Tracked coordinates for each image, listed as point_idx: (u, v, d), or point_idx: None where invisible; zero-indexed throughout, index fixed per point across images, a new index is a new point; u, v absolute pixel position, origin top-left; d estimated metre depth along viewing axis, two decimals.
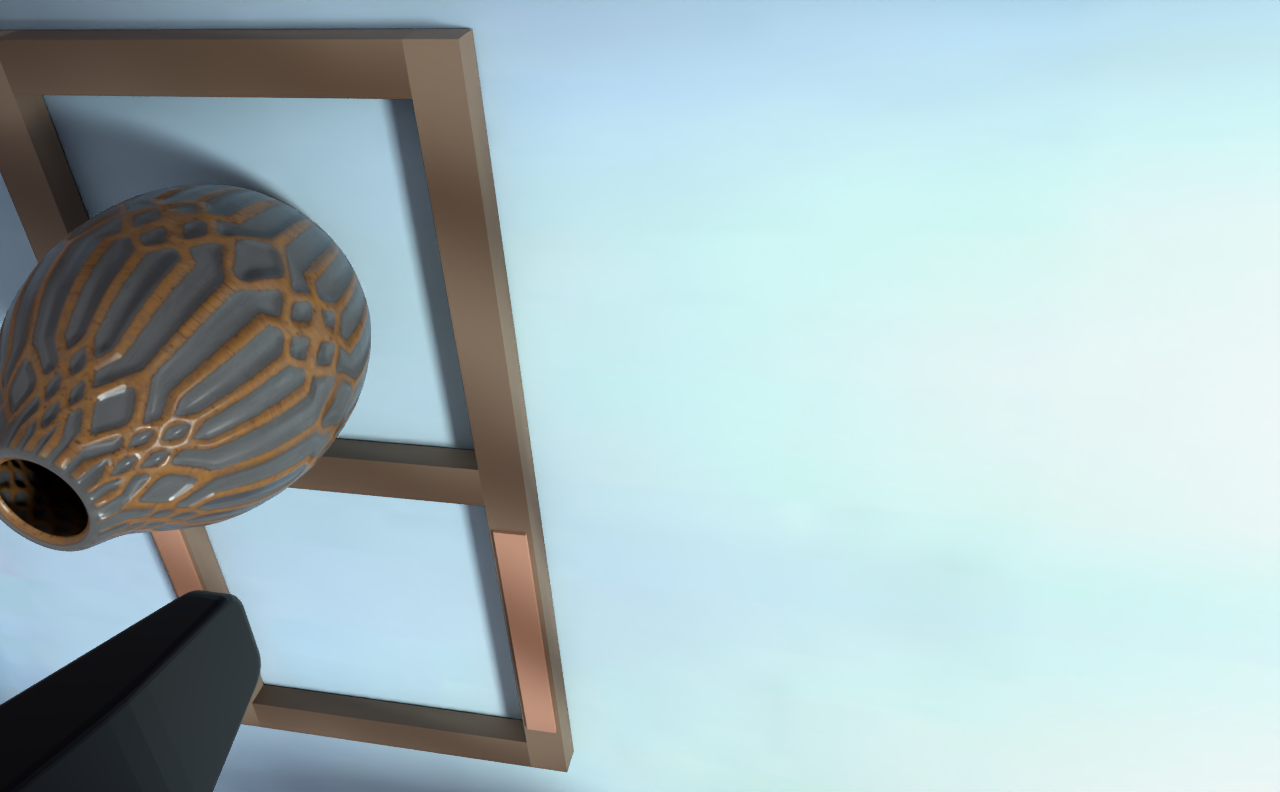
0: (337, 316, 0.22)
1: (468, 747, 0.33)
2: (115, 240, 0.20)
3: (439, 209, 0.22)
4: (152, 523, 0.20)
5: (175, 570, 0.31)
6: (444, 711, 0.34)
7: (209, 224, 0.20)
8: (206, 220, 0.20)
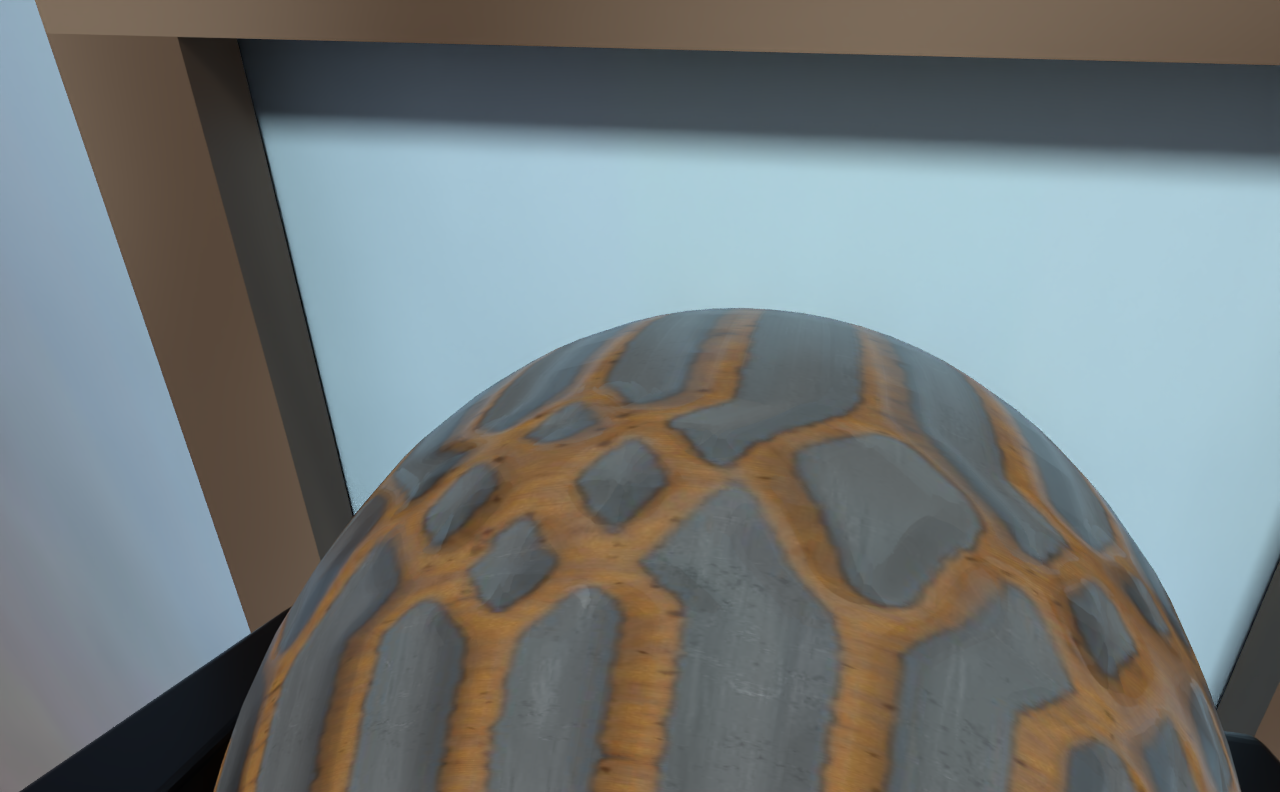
0: (589, 397, 0.06)
1: None
2: None
3: (460, 19, 0.08)
4: None
5: None
6: None
7: None
8: None
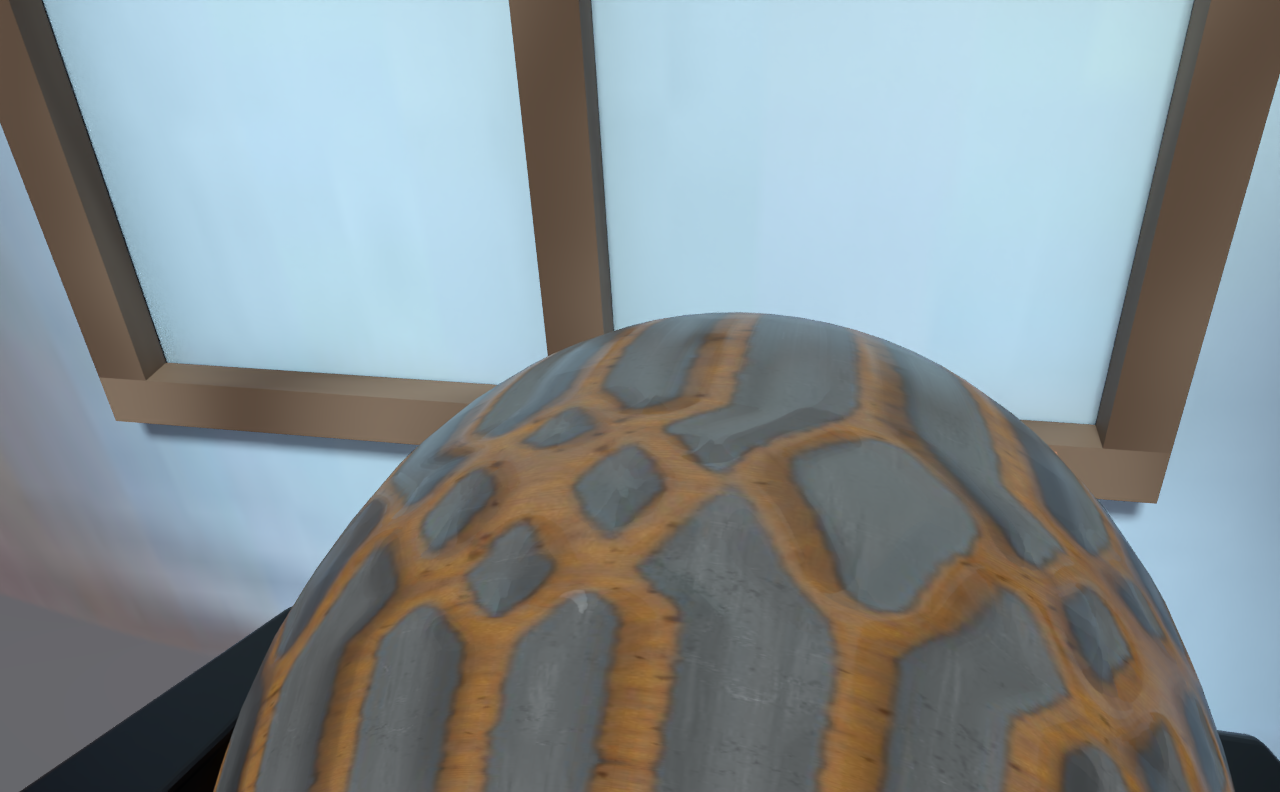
0: (588, 402, 0.06)
1: (1250, 39, 0.15)
2: None
3: None
4: None
5: None
6: (1174, 90, 0.17)
7: None
8: None
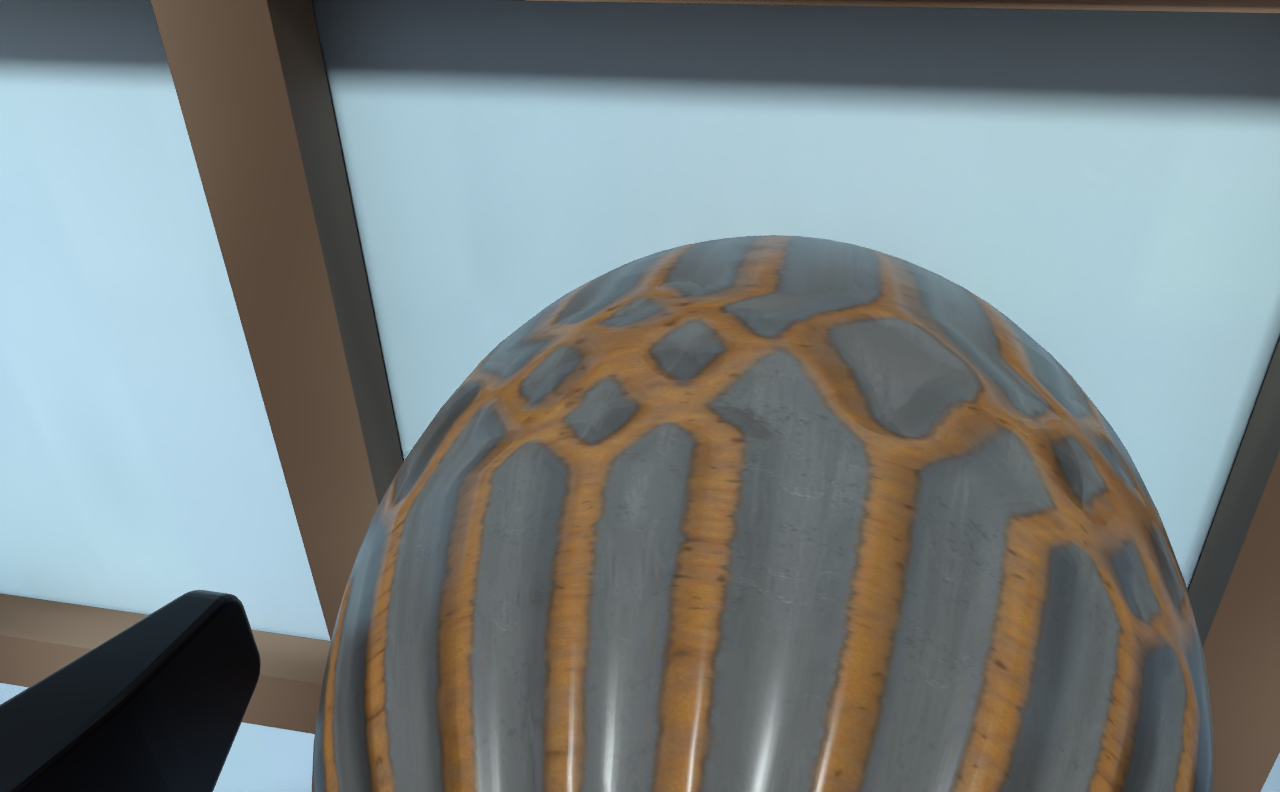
0: (653, 293, 0.08)
1: None
2: None
3: None
4: None
5: None
6: None
7: None
8: None
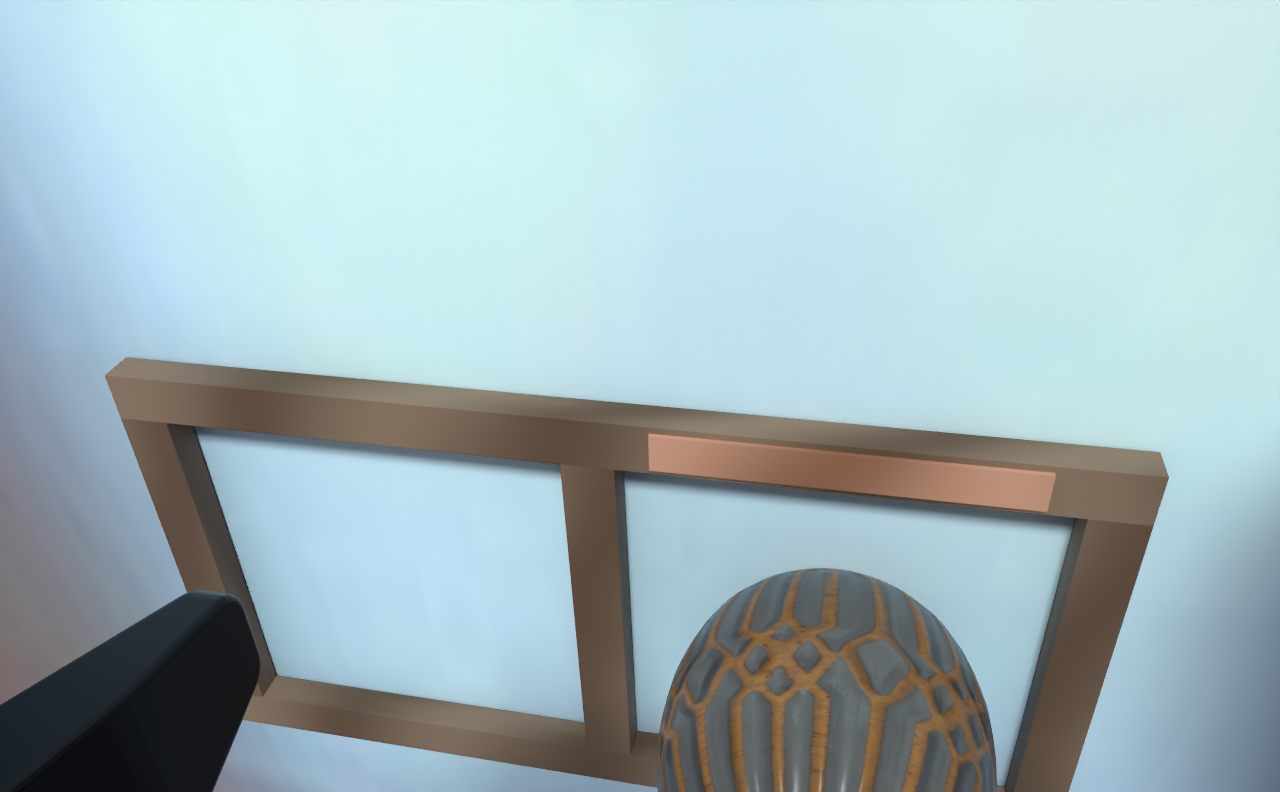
0: (789, 622, 0.20)
1: (1101, 598, 0.21)
2: (657, 778, 0.21)
3: (257, 426, 0.24)
4: None
5: None
6: (1053, 603, 0.23)
7: (672, 694, 0.21)
8: (671, 694, 0.21)
